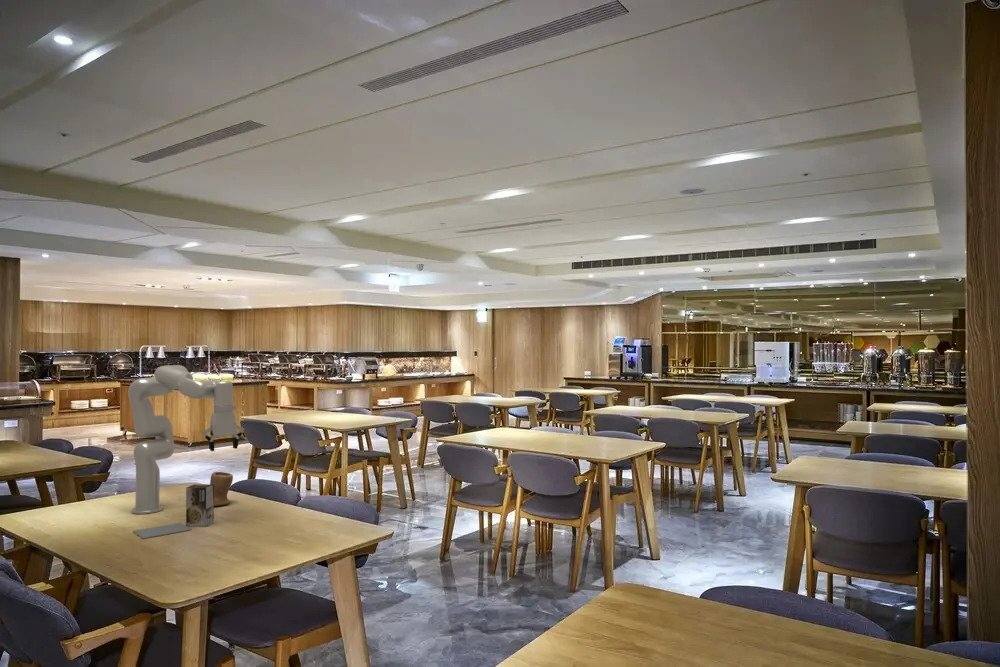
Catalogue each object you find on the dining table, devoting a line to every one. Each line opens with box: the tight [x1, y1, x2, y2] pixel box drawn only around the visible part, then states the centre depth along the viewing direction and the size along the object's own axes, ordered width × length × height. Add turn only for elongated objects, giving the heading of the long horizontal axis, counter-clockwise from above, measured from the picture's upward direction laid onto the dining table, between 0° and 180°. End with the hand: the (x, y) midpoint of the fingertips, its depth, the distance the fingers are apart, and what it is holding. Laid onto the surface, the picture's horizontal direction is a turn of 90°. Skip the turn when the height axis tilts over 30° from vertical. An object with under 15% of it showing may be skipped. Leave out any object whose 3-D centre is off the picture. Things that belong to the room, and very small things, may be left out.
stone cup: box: [209, 471, 234, 507], centre depth 307 cm, size 15×12×15 cm
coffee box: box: [185, 483, 215, 527], centre depth 271 cm, size 9×6×16 cm
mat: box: [132, 522, 193, 540], centre depth 261 cm, size 14×18×1 cm
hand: (223, 449), depth 280 cm, fingers open, 9 cm apart
